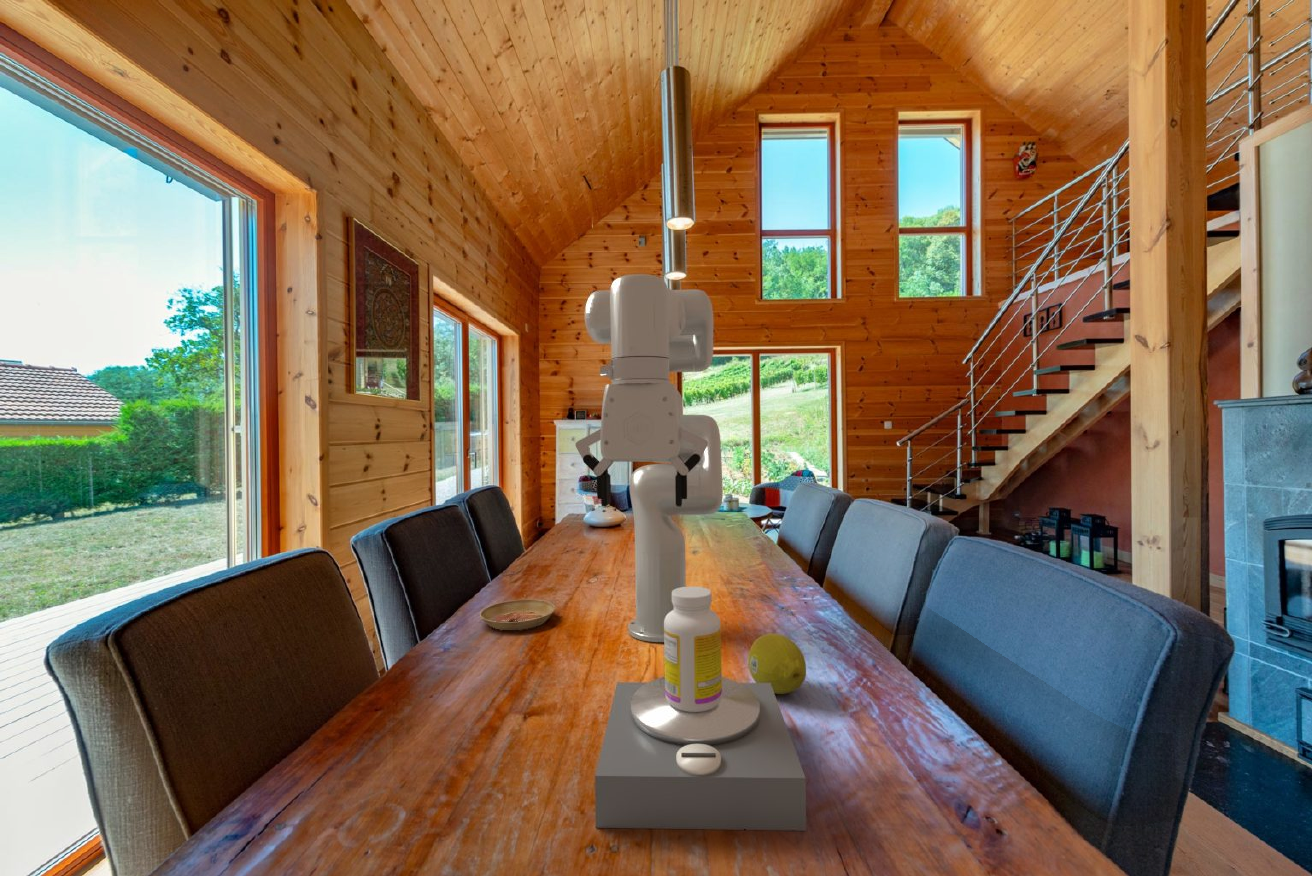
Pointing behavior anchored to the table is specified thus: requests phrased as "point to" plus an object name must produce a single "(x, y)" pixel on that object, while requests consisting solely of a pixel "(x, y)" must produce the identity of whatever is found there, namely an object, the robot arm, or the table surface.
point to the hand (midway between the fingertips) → (642, 504)
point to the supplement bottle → (692, 651)
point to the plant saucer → (518, 606)
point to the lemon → (777, 663)
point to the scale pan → (695, 715)
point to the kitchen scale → (699, 775)
